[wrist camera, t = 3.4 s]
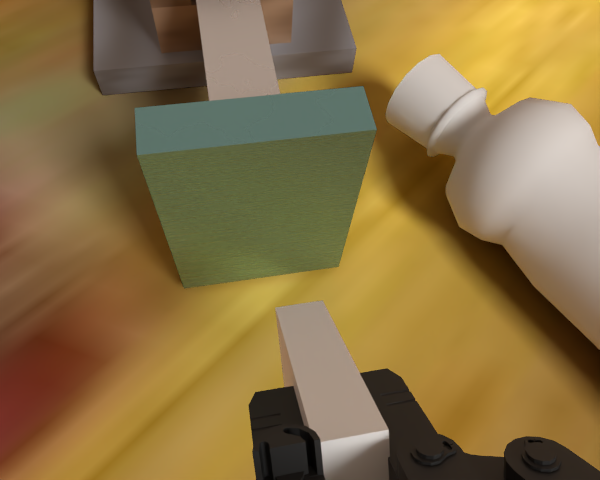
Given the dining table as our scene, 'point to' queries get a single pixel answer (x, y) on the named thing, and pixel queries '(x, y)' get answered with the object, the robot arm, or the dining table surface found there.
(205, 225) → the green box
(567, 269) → the bottle
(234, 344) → the dining table surface
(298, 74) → the bearing block
